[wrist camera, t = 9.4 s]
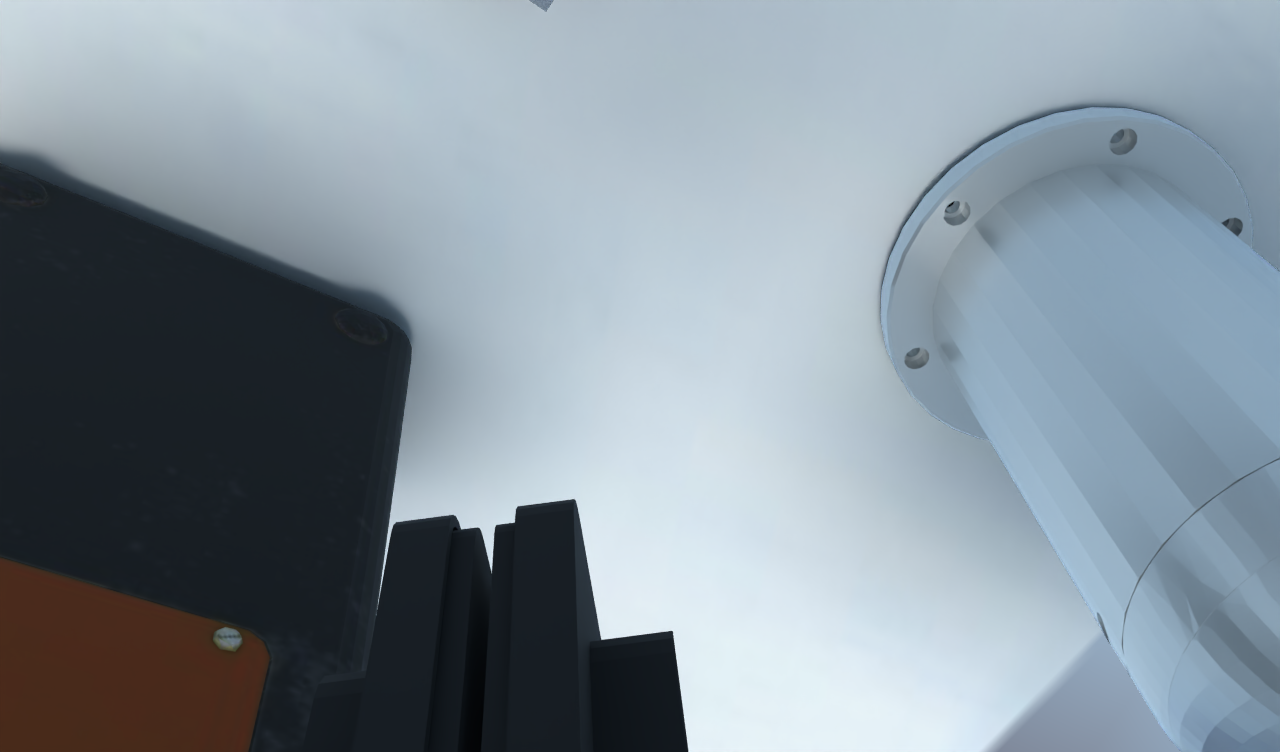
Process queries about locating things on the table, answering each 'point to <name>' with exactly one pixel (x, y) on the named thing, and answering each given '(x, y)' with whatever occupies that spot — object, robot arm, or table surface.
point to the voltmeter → (180, 485)
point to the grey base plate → (542, 3)
